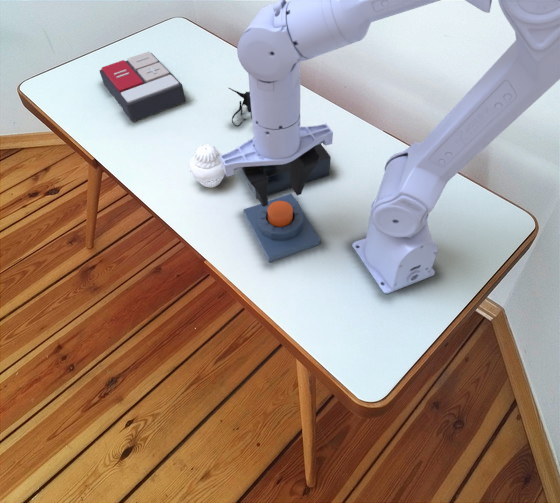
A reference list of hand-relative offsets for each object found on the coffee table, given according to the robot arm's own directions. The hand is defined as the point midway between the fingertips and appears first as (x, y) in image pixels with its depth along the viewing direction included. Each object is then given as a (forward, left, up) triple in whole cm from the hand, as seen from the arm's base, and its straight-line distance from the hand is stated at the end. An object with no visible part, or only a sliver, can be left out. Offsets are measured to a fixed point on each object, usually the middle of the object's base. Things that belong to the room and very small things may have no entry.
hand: (279, 195), depth 71 cm
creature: (+27, -6, -7) cm, 29 cm away
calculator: (+43, +10, -7) cm, 45 cm away
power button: (0, 0, -5) cm, 5 cm away
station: (0, 0, -7) cm, 7 cm away
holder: (+11, -5, -7) cm, 14 cm away
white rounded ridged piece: (+14, +6, -7) cm, 17 cm away
